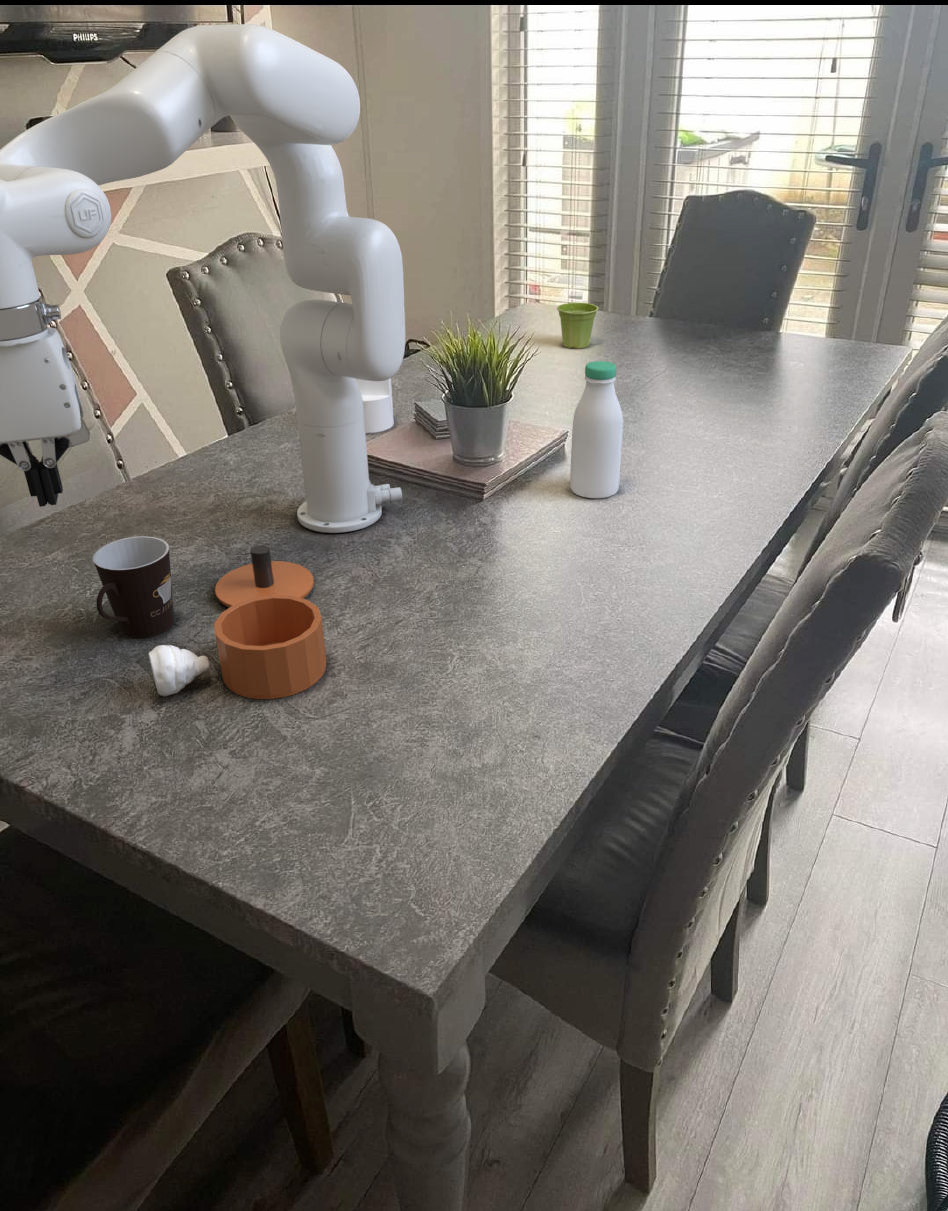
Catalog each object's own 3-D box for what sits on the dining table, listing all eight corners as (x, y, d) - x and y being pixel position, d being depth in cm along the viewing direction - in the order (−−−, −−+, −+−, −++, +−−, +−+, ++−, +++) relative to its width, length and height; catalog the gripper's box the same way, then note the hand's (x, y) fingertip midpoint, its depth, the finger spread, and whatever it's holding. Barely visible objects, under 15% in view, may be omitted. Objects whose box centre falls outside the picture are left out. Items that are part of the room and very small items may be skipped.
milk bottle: (622, 499, 148) (631, 371, 138) (572, 500, 148) (577, 372, 138) (615, 479, 155) (623, 356, 145) (567, 480, 155) (572, 357, 145)
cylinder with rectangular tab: (395, 416, 183) (392, 353, 177) (391, 432, 175) (387, 367, 169) (348, 416, 183) (343, 353, 177) (342, 433, 175) (336, 368, 169)
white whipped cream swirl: (217, 692, 106) (209, 651, 103) (161, 706, 104) (152, 664, 101) (207, 667, 110) (200, 626, 107) (154, 680, 108) (144, 639, 105)
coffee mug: (156, 599, 124) (141, 529, 119) (197, 621, 119) (183, 549, 114) (74, 638, 116) (54, 565, 111) (114, 662, 111) (96, 587, 106)
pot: (318, 635, 116) (312, 588, 112) (333, 688, 106) (328, 639, 103) (219, 651, 113) (211, 603, 110) (226, 707, 103) (217, 657, 100)
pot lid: (307, 562, 132) (302, 522, 129) (321, 606, 122) (316, 564, 119) (213, 576, 129) (206, 535, 126) (219, 622, 119) (212, 579, 116)
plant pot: (604, 346, 222) (606, 308, 217) (571, 353, 218) (572, 314, 213) (581, 337, 229) (582, 300, 224) (548, 343, 225) (548, 305, 220)
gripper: (88, 306, 95) (125, 478, 104) (-77, 319, 92) (-24, 496, 101) (84, 324, 89) (123, 505, 98) (-94, 339, 85) (-35, 525, 95)
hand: (49, 500), depth 100 cm, fingers closed
